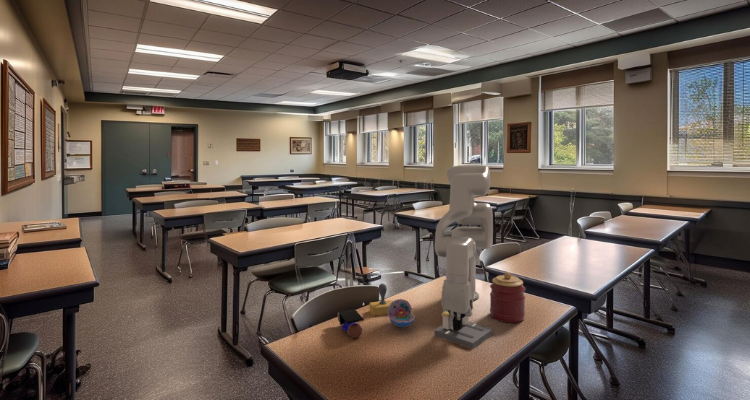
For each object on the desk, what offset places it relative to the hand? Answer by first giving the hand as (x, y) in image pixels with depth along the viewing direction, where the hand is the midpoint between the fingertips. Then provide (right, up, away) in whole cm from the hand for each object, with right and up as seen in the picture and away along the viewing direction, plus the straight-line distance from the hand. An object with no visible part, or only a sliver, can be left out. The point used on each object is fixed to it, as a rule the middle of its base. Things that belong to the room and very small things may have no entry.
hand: (457, 329), depth 133 cm
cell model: (-18, -3, +11) cm, 22 cm away
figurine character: (-37, -4, +7) cm, 38 cm away
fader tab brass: (-3, 0, +3) cm, 4 cm away
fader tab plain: (+4, 0, +6) cm, 7 cm away
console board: (+3, -3, +3) cm, 5 cm away
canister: (+23, -1, +18) cm, 29 cm away
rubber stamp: (-25, -2, +25) cm, 35 cm away
